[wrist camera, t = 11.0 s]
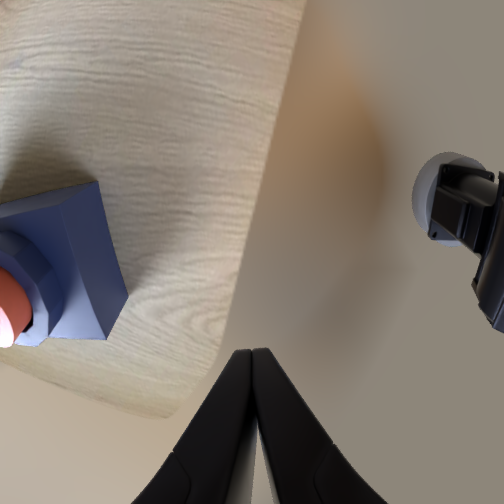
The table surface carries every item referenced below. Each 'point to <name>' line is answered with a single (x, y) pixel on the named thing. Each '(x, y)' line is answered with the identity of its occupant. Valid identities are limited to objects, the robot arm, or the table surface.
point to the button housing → (63, 263)
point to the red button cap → (12, 309)
